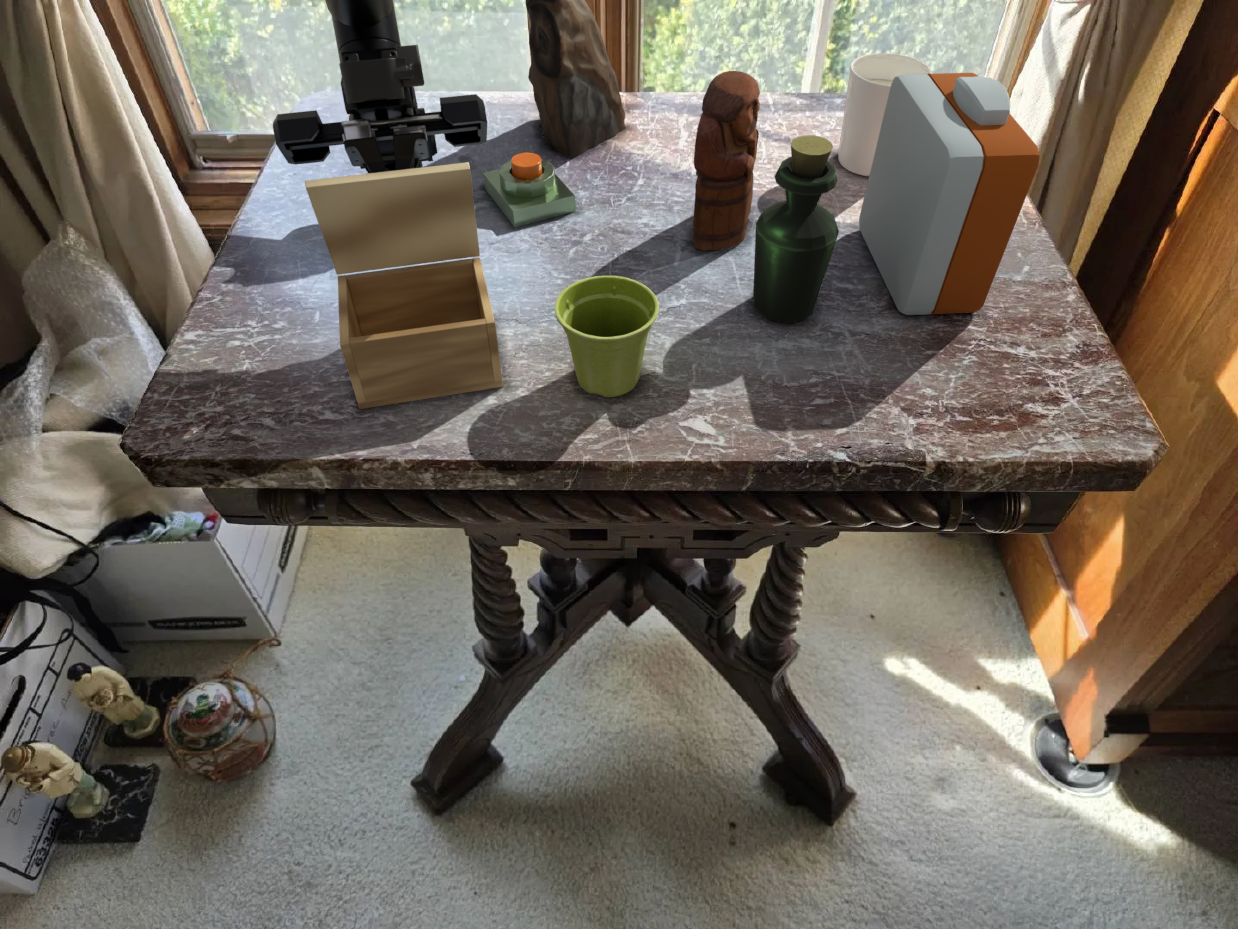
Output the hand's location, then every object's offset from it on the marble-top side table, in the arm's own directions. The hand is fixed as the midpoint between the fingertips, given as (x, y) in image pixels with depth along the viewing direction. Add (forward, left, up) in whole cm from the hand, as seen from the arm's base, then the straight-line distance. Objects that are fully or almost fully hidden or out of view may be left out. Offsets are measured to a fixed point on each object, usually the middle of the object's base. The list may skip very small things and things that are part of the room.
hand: (400, 221), depth 79 cm
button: (-18, +20, -9) cm, 28 cm away
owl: (-31, +33, -12) cm, 47 cm away
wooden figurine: (-2, +38, -12) cm, 40 cm away
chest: (+6, -1, -12) cm, 14 cm away
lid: (+3, -1, +1) cm, 3 cm away
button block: (-18, +20, -12) cm, 30 cm away
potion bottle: (+14, +36, -12) cm, 40 cm away
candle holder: (-7, +64, -12) cm, 65 cm away
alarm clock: (+15, +53, -12) cm, 56 cm away
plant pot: (+16, +14, -12) cm, 24 cm away
